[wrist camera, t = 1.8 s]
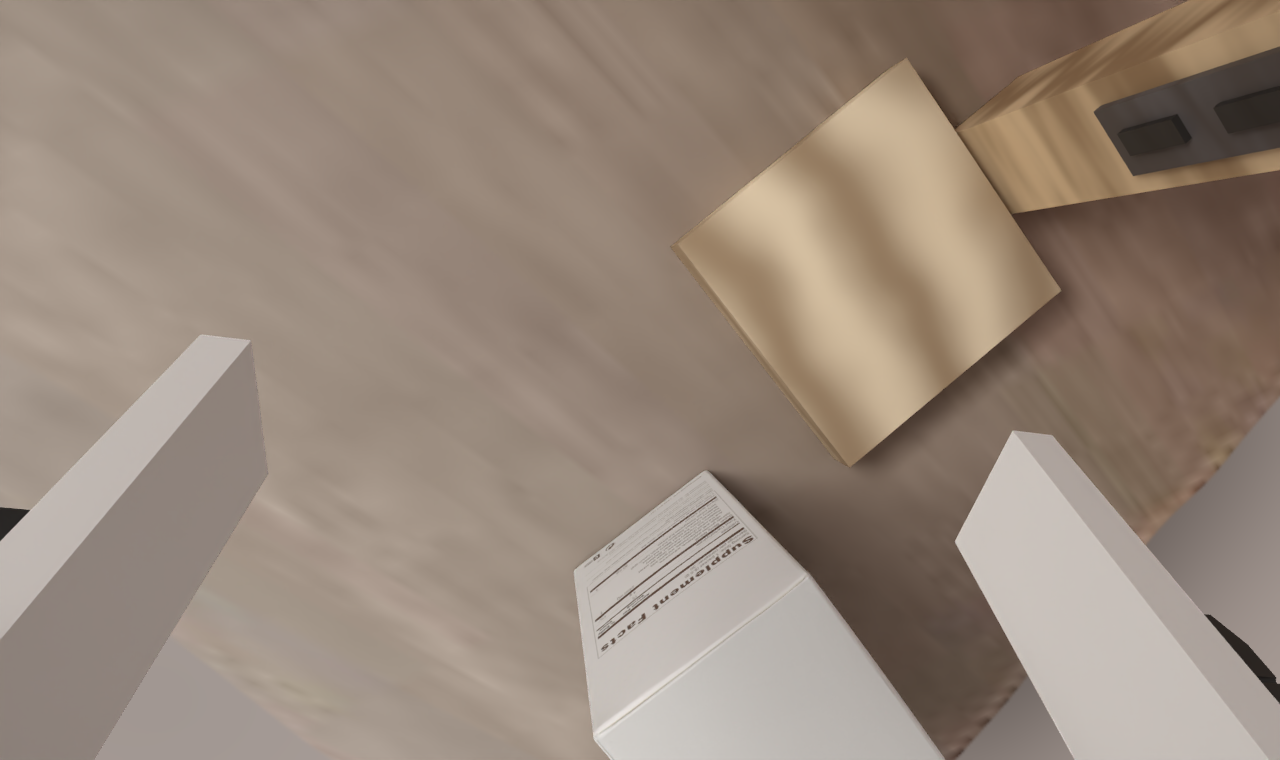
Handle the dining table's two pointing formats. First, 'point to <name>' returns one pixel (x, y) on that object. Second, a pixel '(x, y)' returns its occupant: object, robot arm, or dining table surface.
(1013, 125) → the oak post
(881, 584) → the dining table surface
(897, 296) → the maple pad
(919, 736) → the supplement box
